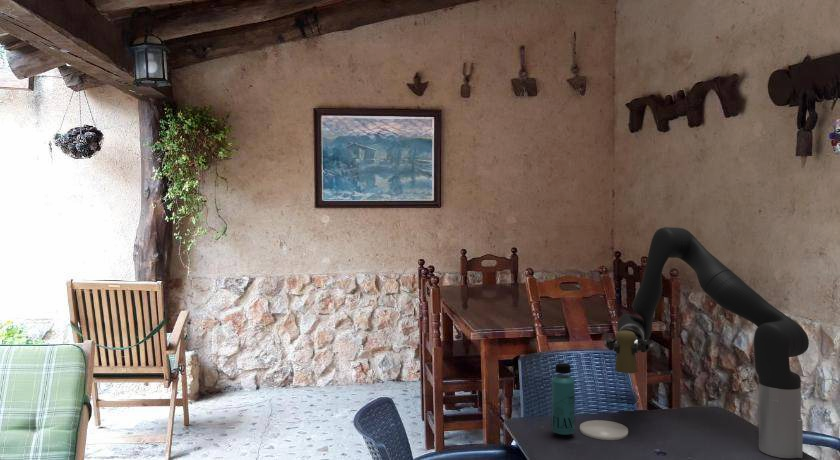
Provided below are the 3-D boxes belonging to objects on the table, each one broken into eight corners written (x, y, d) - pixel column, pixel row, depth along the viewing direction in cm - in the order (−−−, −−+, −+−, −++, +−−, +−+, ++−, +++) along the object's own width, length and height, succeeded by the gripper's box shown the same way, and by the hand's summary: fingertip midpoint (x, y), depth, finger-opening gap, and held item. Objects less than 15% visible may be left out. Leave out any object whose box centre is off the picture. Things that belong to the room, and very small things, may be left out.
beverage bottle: (548, 438, 167) (547, 365, 166) (555, 430, 173) (554, 360, 172) (572, 441, 164) (571, 368, 163) (578, 433, 170) (577, 362, 169)
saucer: (630, 426, 174) (630, 423, 174) (626, 442, 163) (626, 439, 162) (583, 421, 180) (583, 418, 180) (576, 436, 168) (576, 432, 168)
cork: (639, 373, 166) (638, 333, 165) (616, 372, 167) (615, 333, 167) (636, 367, 172) (635, 329, 171) (613, 367, 173) (613, 328, 172)
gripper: (605, 324, 186) (598, 335, 170) (655, 326, 180) (652, 338, 164) (606, 348, 186) (598, 361, 170) (655, 351, 180) (653, 365, 165)
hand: (625, 350), depth 167 cm, fingers closed on cork, 3 cm apart
